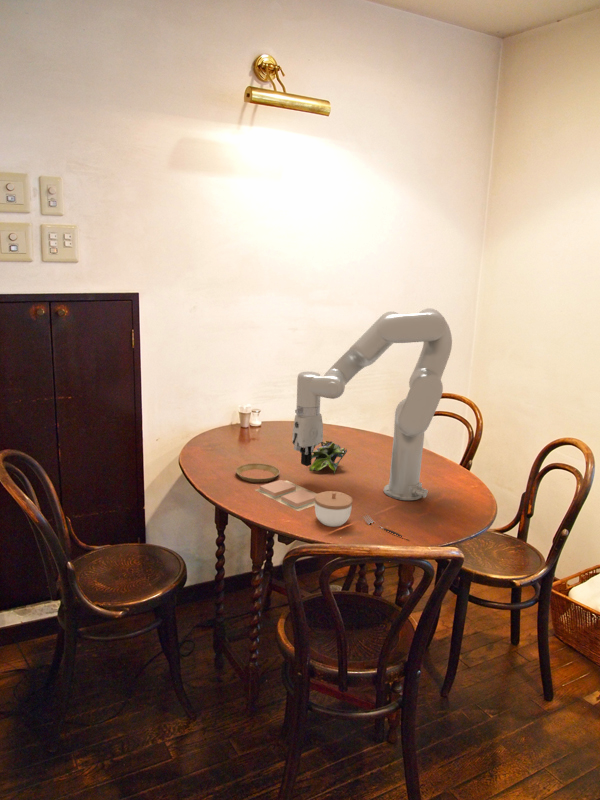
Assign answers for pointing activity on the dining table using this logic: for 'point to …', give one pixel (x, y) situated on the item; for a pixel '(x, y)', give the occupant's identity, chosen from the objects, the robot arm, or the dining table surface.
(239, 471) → the plant saucer
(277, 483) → the tile
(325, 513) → the lidded jar
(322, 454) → the passion flower
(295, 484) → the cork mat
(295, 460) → the dining table surface
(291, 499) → the tile
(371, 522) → the fork
